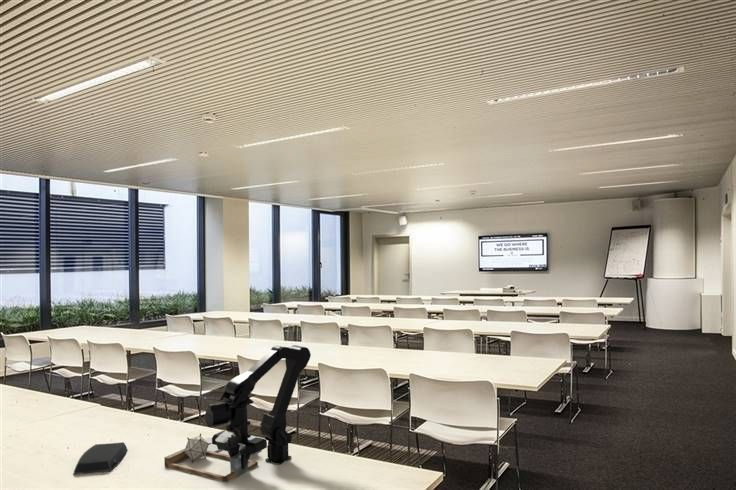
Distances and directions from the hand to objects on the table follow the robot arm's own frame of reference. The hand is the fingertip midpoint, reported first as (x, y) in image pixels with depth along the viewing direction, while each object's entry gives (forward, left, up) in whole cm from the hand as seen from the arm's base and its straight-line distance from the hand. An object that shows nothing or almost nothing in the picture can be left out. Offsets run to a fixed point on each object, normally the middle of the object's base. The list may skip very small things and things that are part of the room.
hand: (239, 468), depth 171 cm
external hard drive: (+50, +14, -2) cm, 52 cm away
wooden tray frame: (+12, 0, -2) cm, 13 cm away
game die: (+21, -2, -2) cm, 21 cm away
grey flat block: (+19, -13, -2) cm, 23 cm away
